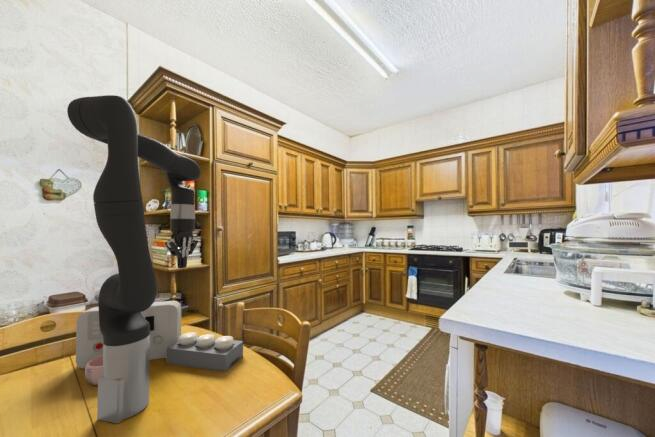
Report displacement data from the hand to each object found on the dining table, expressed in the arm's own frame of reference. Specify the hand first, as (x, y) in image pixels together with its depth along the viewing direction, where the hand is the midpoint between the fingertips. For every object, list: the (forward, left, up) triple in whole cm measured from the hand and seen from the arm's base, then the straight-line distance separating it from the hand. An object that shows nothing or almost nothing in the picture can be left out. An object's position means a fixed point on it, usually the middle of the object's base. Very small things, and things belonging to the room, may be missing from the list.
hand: (182, 267), depth 90 cm
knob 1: (+1, -2, -29) cm, 29 cm away
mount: (+1, -9, -31) cm, 32 cm away
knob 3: (+1, -16, -29) cm, 33 cm away
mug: (-14, +12, -31) cm, 36 cm away
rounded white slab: (-4, +16, -31) cm, 35 cm away
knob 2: (+1, -9, -29) cm, 31 cm away
